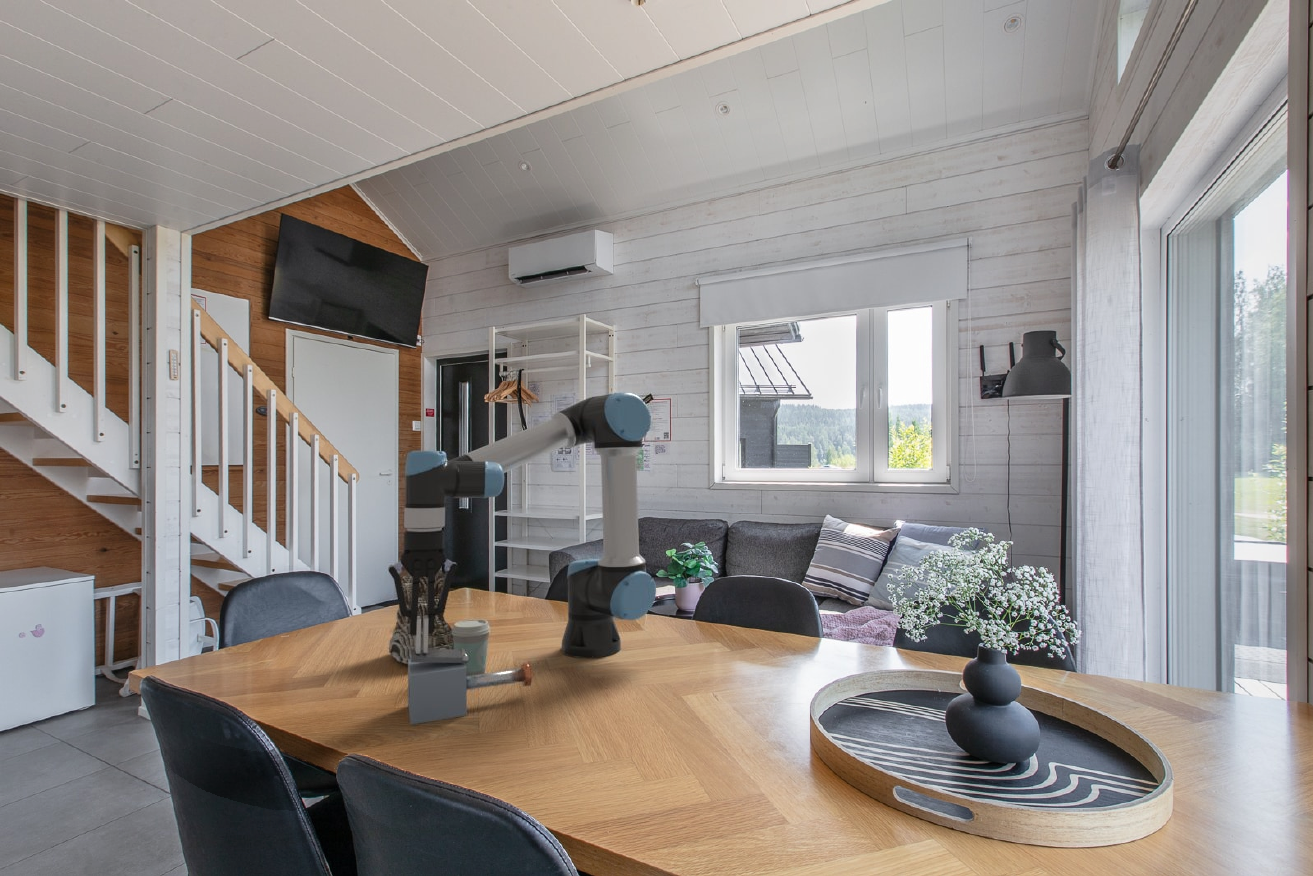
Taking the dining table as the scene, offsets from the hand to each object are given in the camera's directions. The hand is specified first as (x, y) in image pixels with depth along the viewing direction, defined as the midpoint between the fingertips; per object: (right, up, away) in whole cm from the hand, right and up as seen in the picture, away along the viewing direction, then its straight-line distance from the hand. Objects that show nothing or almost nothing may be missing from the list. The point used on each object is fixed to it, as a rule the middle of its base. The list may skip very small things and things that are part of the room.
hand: (421, 651), depth 126 cm
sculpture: (-12, -14, +35) cm, 39 cm away
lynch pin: (+12, -10, +5) cm, 17 cm away
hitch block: (+3, -12, +1) cm, 12 cm away
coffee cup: (+4, -13, +21) cm, 25 cm away
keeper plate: (+3, -2, +1) cm, 4 cm away
